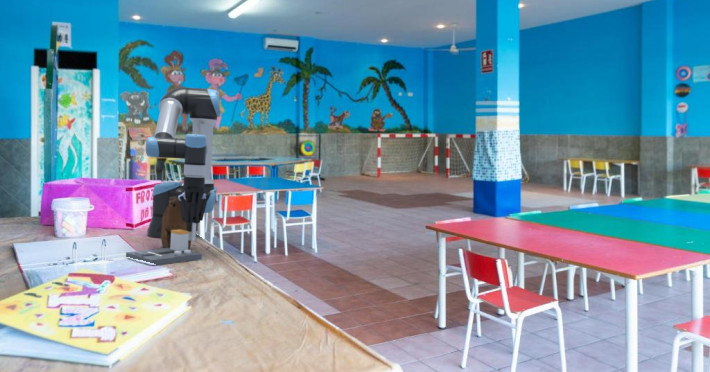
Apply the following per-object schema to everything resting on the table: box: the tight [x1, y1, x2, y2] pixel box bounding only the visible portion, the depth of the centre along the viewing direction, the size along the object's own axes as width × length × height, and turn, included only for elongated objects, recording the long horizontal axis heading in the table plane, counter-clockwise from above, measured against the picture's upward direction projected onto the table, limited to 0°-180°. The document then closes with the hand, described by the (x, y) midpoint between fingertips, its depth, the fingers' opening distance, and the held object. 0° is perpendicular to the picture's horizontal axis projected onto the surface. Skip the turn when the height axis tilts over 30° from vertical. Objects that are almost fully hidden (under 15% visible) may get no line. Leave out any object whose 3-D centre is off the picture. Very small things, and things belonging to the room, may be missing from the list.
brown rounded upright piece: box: [160, 197, 192, 249], centre depth 228 cm, size 11×8×20 cm
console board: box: [125, 247, 203, 266], centre depth 208 cm, size 20×16×4 cm
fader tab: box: [170, 229, 189, 251], centre depth 212 cm, size 4×5×7 cm
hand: (191, 240), depth 216 cm, fingers closed
